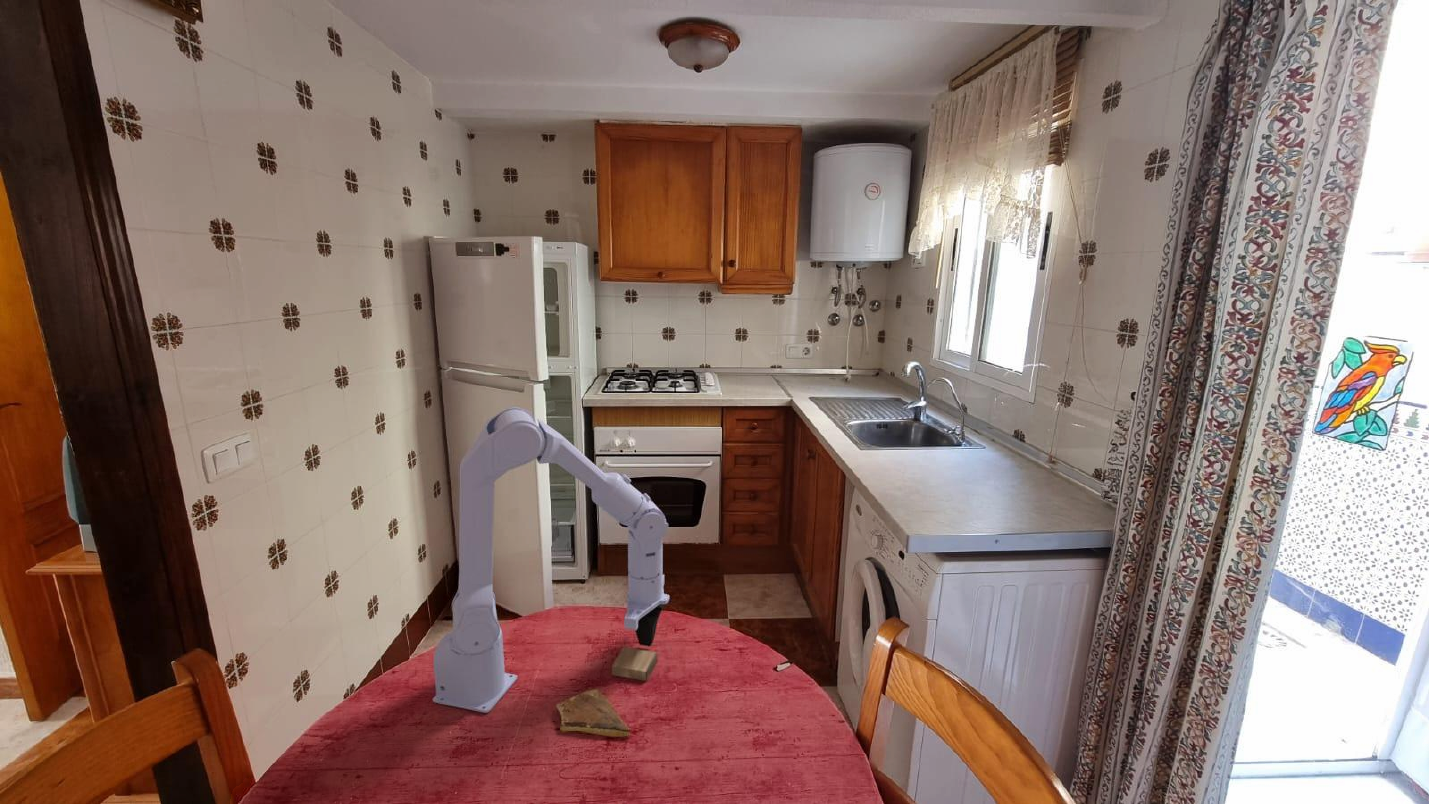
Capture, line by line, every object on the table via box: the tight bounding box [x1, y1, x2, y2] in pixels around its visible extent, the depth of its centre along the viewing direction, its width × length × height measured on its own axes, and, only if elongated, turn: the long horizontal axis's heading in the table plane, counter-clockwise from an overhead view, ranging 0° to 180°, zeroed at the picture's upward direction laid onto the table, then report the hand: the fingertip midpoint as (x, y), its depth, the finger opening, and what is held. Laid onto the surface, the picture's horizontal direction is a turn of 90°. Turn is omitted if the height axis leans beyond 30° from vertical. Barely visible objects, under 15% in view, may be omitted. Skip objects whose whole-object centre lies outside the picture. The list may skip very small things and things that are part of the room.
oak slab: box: [611, 646, 659, 682], centre depth 93 cm, size 2×5×6 cm
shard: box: [555, 689, 632, 738], centre depth 81 cm, size 11×8×2 cm
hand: (646, 643), depth 98 cm, fingers closed
